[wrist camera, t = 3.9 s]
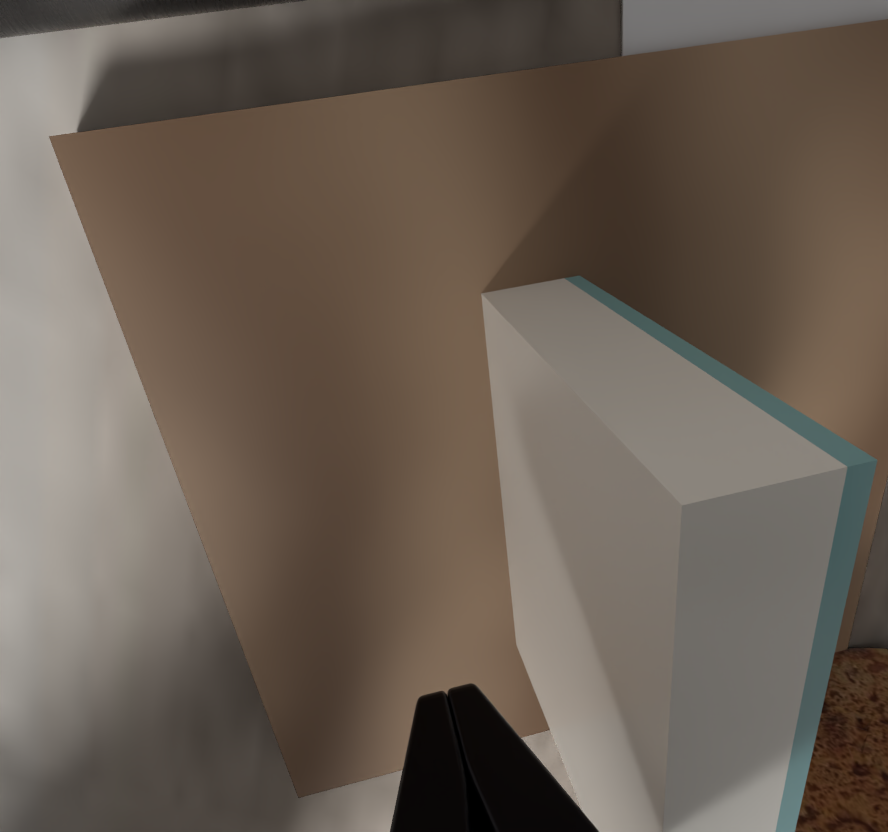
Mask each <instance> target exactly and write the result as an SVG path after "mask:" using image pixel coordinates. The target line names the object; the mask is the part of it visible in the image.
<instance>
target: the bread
mask: <svg viewBox="0 0 888 832" xmlns="http://www.w3.org/2000/svg"><path fill="white" fill-rule="evenodd" d="M795 832H888V649H881V648H850V649H846V650H843V651H839V652H835V653H834V658H833V662H832V667H831V671H830V676H829V680H828V685H827V689H826V694H825V698H824V703H823V707H822V712H821V716H820V721H819V725H818V730H817V734H816V739H815V743H814V748H813V752H812V757H811V762H810V766H809V771H808V775H807V780H806V784H805V789H804V793H803V798H802V802H801V807H800V811H799V816H798V820H797V825H796V829H795Z"/></svg>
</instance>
